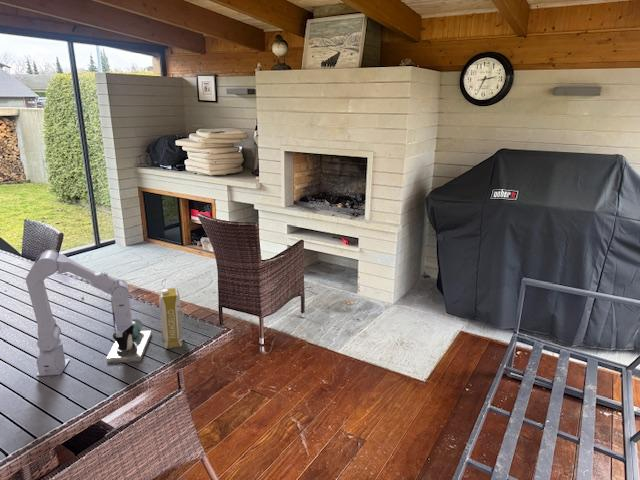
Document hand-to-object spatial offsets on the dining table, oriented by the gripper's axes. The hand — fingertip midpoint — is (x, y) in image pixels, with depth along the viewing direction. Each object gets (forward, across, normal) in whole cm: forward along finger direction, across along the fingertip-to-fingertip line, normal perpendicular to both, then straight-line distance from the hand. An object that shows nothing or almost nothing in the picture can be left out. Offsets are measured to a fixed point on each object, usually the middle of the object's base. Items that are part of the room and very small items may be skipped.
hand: (126, 344), depth 170 cm
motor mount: (+5, +5, 0) cm, 7 cm away
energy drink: (+5, +28, +10) cm, 30 cm away
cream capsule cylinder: (+3, 0, 0) cm, 3 cm away
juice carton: (+5, +7, -16) cm, 18 cm away
